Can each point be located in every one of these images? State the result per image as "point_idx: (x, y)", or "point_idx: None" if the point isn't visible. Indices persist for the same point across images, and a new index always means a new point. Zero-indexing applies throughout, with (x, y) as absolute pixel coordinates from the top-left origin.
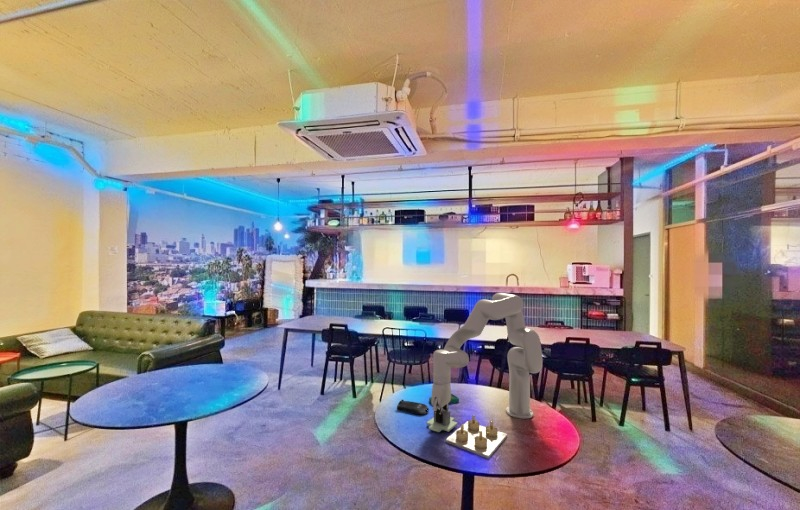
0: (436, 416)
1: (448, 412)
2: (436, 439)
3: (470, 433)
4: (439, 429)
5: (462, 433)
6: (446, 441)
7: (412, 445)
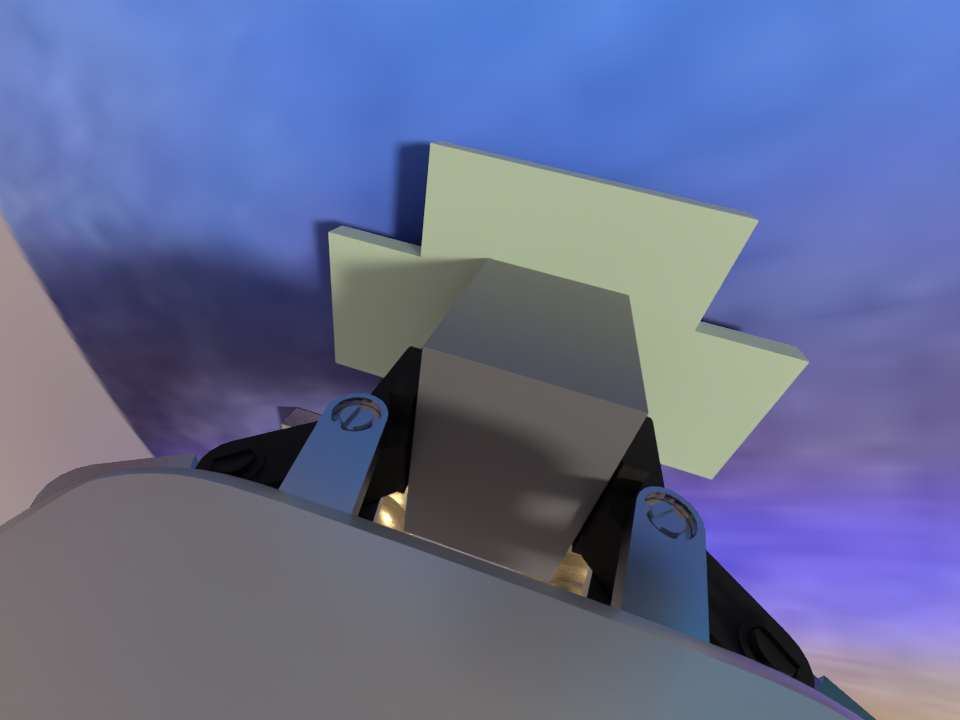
0: (418, 361)
1: (493, 561)
2: (279, 337)
3: (473, 556)
4: (358, 364)
5: None
6: (292, 417)
7: (33, 162)
